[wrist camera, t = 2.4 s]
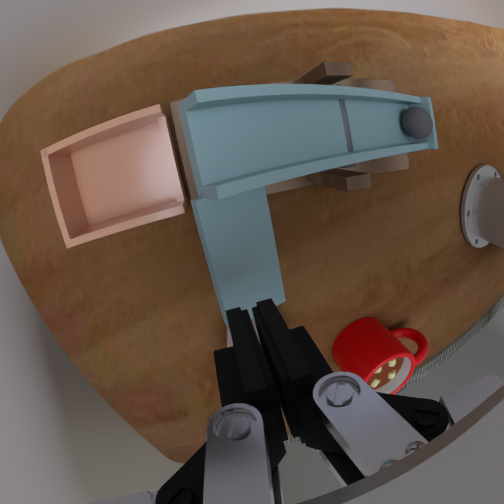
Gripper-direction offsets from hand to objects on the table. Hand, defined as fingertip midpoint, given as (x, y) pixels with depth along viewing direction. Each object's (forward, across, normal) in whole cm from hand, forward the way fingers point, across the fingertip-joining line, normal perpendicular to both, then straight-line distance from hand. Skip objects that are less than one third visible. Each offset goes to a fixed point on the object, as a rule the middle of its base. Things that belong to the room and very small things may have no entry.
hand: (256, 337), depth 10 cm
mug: (+17, -16, +19) cm, 30 cm away
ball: (+11, -19, -7) cm, 23 cm away
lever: (+10, -9, -3) cm, 14 cm away
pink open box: (+17, +7, -7) cm, 20 cm away
